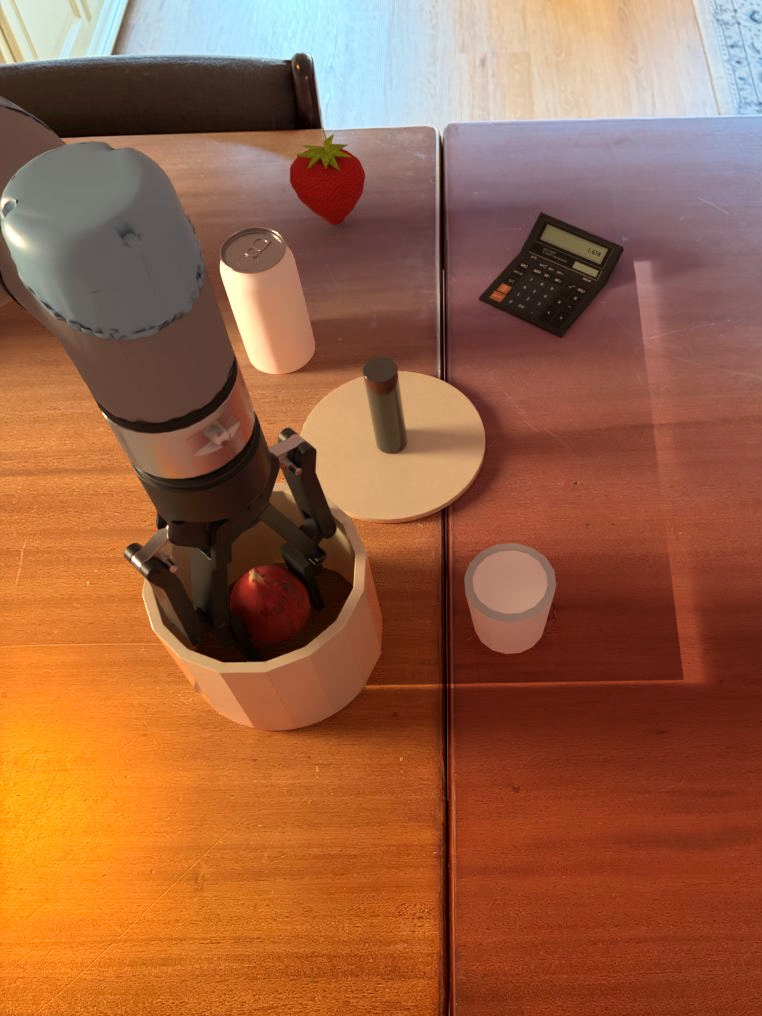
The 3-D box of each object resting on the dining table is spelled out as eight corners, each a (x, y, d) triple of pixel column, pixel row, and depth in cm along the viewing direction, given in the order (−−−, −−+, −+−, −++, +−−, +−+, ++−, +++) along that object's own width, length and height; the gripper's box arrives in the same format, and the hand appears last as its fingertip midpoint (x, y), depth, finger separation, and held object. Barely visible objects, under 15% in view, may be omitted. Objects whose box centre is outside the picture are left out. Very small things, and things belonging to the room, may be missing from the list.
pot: (176, 732, 72) (127, 674, 62) (201, 559, 79) (161, 484, 69) (378, 729, 71) (360, 670, 62) (386, 556, 79) (370, 480, 69)
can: (236, 365, 89) (199, 262, 78) (271, 320, 91) (240, 214, 81) (294, 387, 87) (265, 285, 77) (328, 340, 90) (305, 235, 79)
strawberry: (303, 204, 99) (283, 113, 90) (373, 203, 99) (361, 113, 90) (297, 242, 96) (276, 153, 87) (370, 242, 96) (356, 152, 87)
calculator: (479, 304, 92) (478, 279, 89) (541, 234, 96) (542, 209, 93) (560, 342, 89) (562, 318, 86) (621, 268, 93) (624, 243, 91)
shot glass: (527, 677, 73) (529, 636, 67) (451, 640, 75) (446, 596, 69) (566, 610, 76) (572, 564, 70) (492, 575, 77) (492, 528, 71)
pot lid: (293, 529, 80) (266, 454, 71) (307, 381, 88) (285, 296, 79) (486, 525, 80) (484, 449, 71) (484, 377, 87) (482, 291, 78)
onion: (326, 601, 74) (306, 546, 67) (307, 665, 72) (285, 615, 64) (255, 591, 75) (229, 535, 68) (234, 654, 72) (204, 603, 65)
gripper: (89, 576, 48) (213, 738, 69) (360, 373, 54) (400, 579, 75) (10, 494, 51) (153, 674, 71) (277, 309, 57) (338, 525, 77)
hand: (279, 625), depth 73 cm, fingers closed on onion, 6 cm apart
